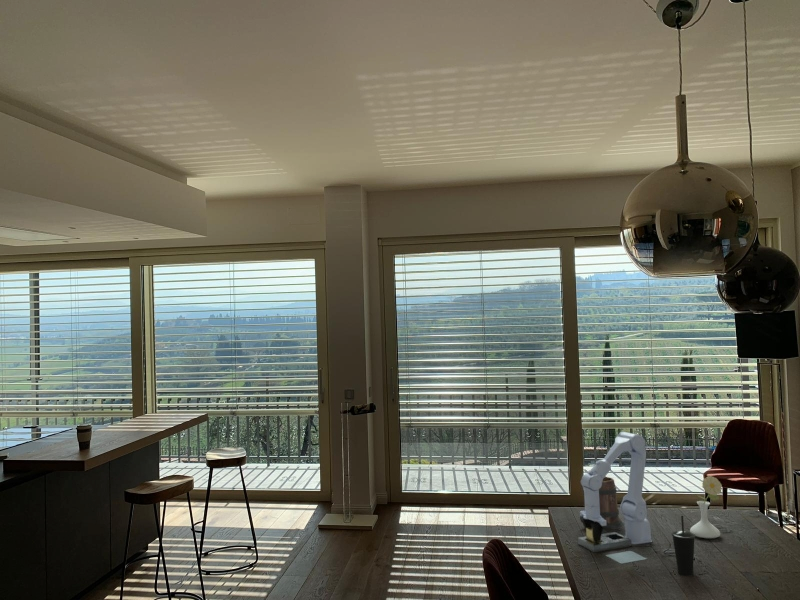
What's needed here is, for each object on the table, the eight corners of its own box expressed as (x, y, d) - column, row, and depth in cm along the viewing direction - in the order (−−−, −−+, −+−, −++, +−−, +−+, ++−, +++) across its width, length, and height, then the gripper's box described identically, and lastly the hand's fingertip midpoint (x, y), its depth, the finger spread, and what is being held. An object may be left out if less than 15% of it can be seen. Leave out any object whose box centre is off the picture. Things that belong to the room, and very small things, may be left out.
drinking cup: (688, 579, 202) (684, 520, 203) (669, 571, 208) (665, 514, 210) (702, 574, 205) (698, 516, 206) (683, 567, 212) (679, 511, 213)
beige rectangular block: (595, 544, 236) (594, 526, 237) (601, 547, 232) (600, 529, 233) (586, 545, 235) (586, 527, 235) (593, 548, 231) (592, 530, 232)
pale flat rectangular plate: (630, 552, 228) (630, 550, 228) (647, 560, 219) (647, 558, 219) (605, 556, 224) (605, 555, 224) (621, 565, 215) (620, 563, 215)
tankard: (600, 515, 275) (598, 472, 276) (632, 524, 261) (629, 479, 262) (567, 525, 262) (565, 480, 264) (598, 535, 248) (596, 487, 249)
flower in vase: (691, 539, 240) (687, 477, 242) (689, 530, 251) (685, 471, 252) (727, 542, 235) (723, 479, 237) (723, 533, 246) (719, 473, 247)
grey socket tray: (615, 539, 243) (614, 531, 243) (631, 547, 233) (631, 539, 233) (578, 545, 237) (577, 537, 237) (593, 553, 228) (593, 545, 228)
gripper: (573, 501, 240) (574, 534, 239) (595, 510, 227) (596, 546, 226) (587, 499, 243) (589, 532, 242) (610, 508, 229) (612, 543, 228)
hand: (593, 539), depth 234 cm, fingers closed on beige rectangular block, 4 cm apart
